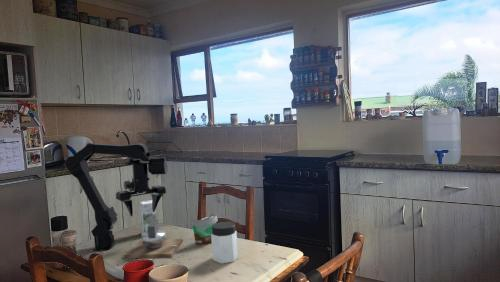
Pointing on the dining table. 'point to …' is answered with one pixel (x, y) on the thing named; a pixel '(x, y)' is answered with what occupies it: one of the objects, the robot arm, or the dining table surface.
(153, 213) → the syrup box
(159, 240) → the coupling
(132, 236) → the dining table surface
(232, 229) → the jar
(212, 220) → the food container
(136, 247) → the brown flat slab
